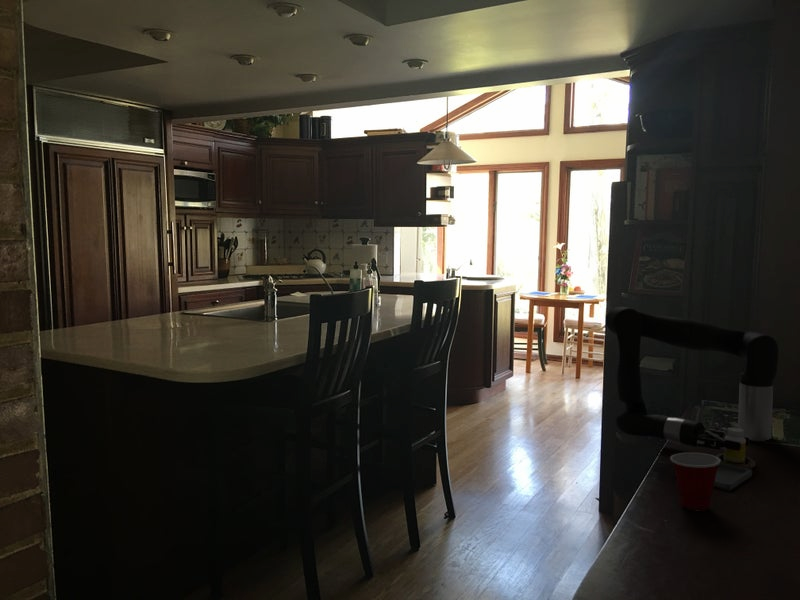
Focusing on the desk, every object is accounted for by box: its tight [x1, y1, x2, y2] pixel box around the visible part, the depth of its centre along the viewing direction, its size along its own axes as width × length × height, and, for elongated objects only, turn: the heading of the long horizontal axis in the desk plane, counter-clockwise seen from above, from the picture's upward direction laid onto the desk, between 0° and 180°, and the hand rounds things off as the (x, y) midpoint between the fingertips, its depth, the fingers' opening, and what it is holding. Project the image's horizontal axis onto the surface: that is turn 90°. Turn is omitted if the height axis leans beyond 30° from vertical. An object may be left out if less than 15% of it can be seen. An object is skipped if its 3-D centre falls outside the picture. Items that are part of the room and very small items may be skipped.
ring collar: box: [715, 453, 756, 470], centre depth 178 cm, size 10×10×1 cm
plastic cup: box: [669, 452, 722, 512], centre depth 149 cm, size 11×11×12 cm
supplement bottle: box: [722, 427, 747, 464], centre depth 177 cm, size 5×5×10 cm
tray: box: [673, 462, 753, 492], centre depth 169 cm, size 15×14×2 cm
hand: (744, 444), depth 175 cm, fingers closed on supplement bottle, 5 cm apart
